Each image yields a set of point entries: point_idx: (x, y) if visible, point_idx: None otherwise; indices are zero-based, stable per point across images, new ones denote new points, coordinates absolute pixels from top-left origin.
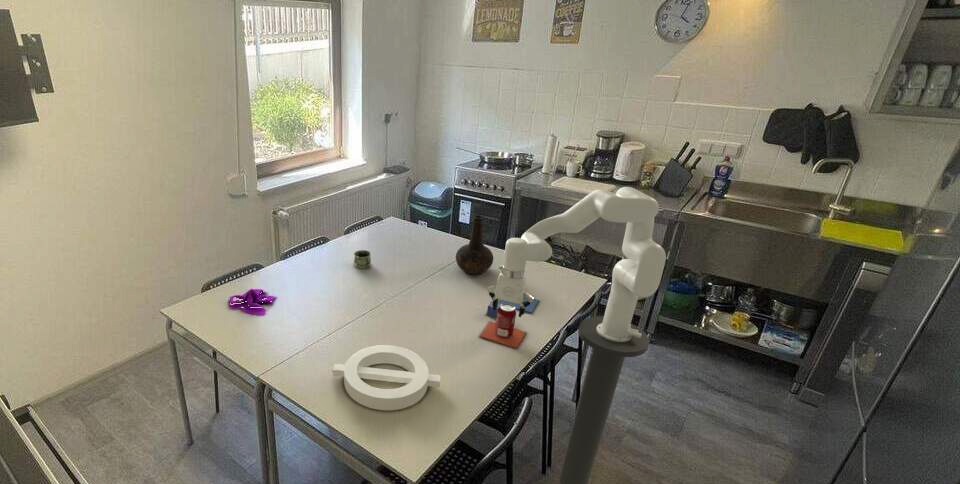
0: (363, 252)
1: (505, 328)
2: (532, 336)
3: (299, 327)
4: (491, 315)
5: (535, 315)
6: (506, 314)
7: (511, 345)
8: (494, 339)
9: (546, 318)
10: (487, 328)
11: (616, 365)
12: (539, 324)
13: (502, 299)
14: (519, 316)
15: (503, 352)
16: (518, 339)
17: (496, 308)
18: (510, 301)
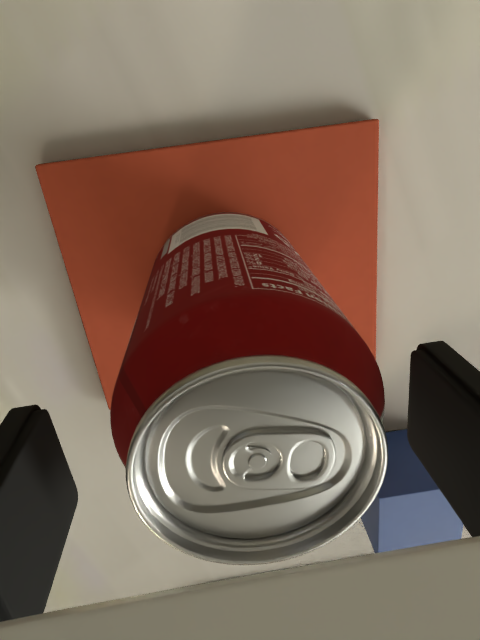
0: None
1: (187, 246)
2: (52, 398)
3: None
4: (396, 437)
5: (168, 588)
6: (202, 320)
7: (85, 160)
8: (250, 149)
9: (103, 599)
10: (365, 271)
11: None
12: (99, 533)
13: (450, 557)
14: (24, 410)
15: (90, 9)
16: (93, 287)
17: (396, 494)
18: (149, 613)
